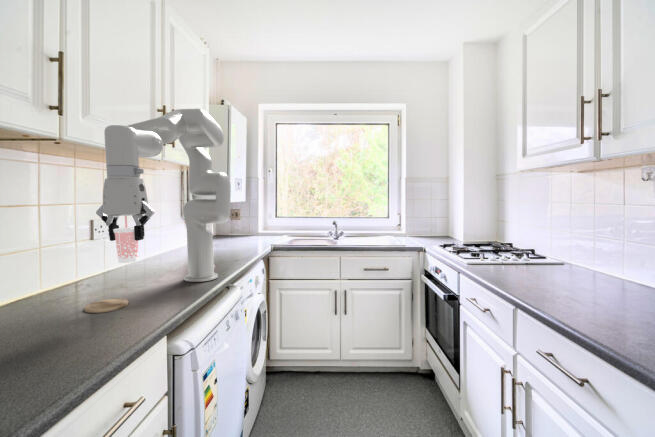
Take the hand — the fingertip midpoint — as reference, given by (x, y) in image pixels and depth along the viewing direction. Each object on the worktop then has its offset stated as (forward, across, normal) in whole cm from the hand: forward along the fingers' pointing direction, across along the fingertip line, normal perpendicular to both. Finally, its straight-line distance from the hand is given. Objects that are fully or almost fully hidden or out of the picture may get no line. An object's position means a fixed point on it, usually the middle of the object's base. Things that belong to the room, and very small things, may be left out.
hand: (127, 239), depth 93 cm
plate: (+21, +12, -7) cm, 25 cm away
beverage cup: (+6, 0, 0) cm, 6 cm away
